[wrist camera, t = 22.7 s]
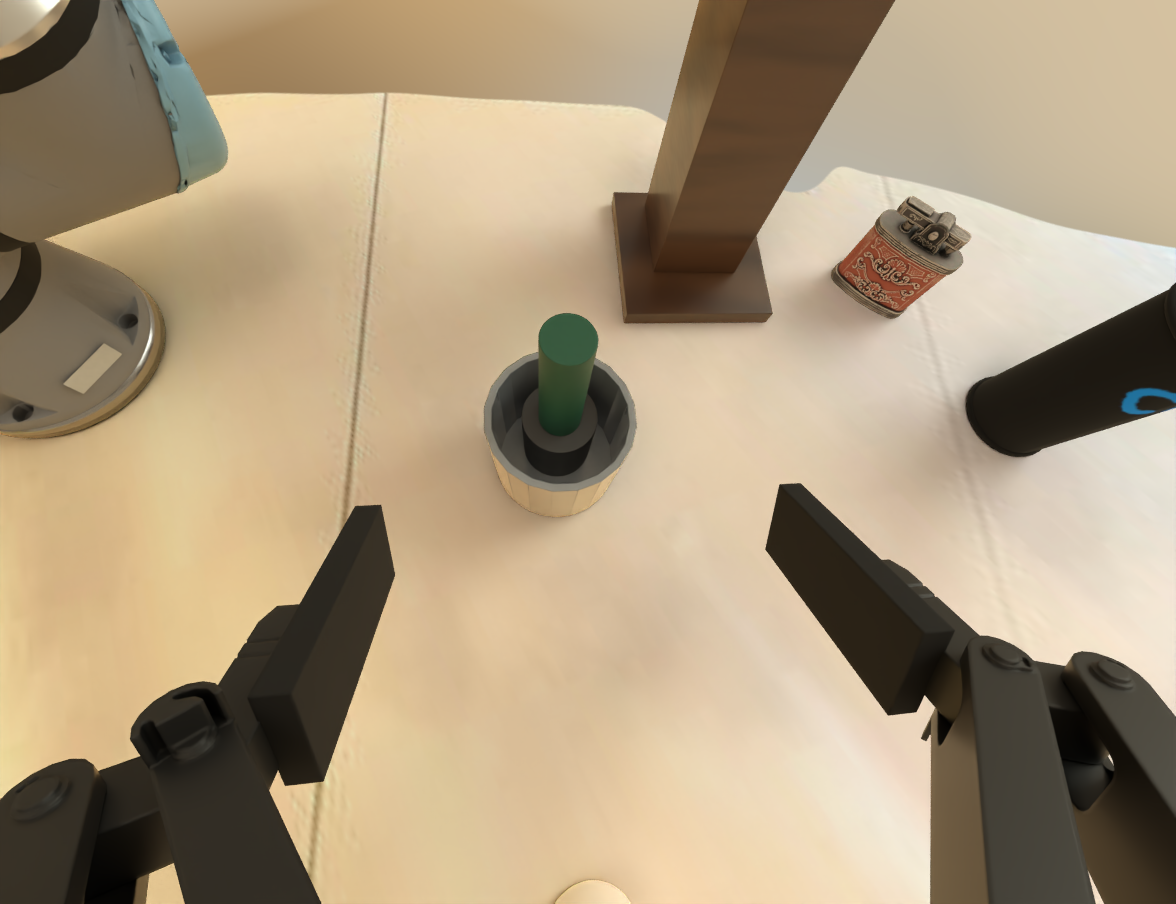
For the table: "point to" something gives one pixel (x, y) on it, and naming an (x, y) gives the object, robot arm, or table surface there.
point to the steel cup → (603, 456)
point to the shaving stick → (561, 397)
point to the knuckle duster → (593, 894)
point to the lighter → (902, 257)
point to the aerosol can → (1083, 383)
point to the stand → (733, 153)
